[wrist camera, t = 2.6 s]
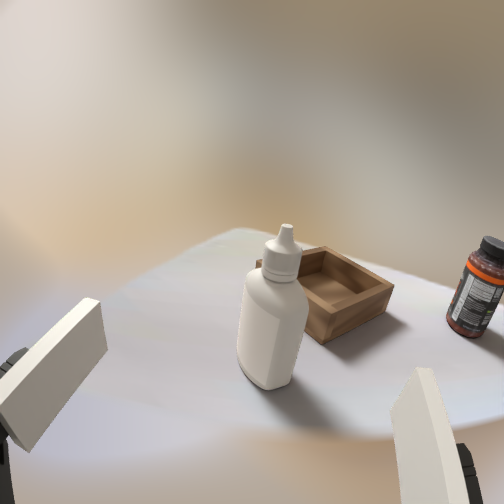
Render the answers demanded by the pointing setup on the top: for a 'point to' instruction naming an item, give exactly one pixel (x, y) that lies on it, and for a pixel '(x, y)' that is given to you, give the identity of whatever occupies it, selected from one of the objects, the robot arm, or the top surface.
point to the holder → (338, 293)
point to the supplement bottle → (478, 289)
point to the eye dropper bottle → (273, 314)
